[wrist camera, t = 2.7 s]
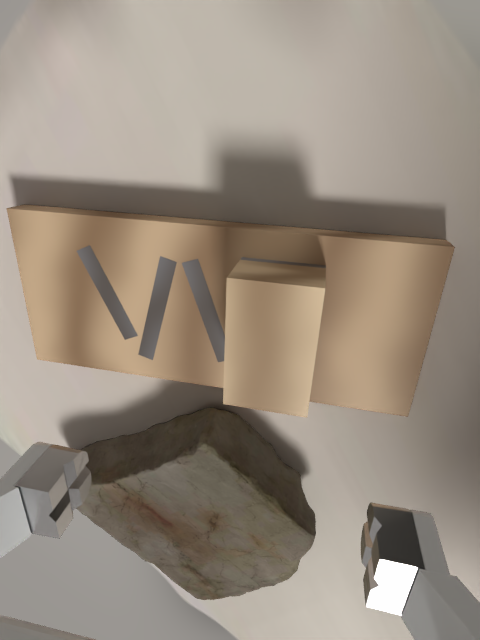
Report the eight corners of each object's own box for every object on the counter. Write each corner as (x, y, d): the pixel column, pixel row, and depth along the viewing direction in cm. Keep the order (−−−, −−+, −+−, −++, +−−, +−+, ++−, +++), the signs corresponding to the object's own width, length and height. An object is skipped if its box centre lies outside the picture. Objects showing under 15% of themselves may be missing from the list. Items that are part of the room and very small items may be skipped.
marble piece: (73, 452, 33) (41, 493, 29) (189, 359, 27) (167, 394, 23) (212, 573, 36) (198, 624, 32) (345, 514, 30) (347, 567, 26)
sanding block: (326, 265, 20) (325, 288, 17) (310, 380, 23) (307, 417, 20) (241, 257, 21) (226, 277, 18) (236, 369, 24) (222, 403, 21)
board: (446, 240, 20) (454, 247, 19) (403, 401, 24) (407, 416, 23) (24, 204, 24) (6, 208, 23) (50, 348, 28) (36, 359, 27)
